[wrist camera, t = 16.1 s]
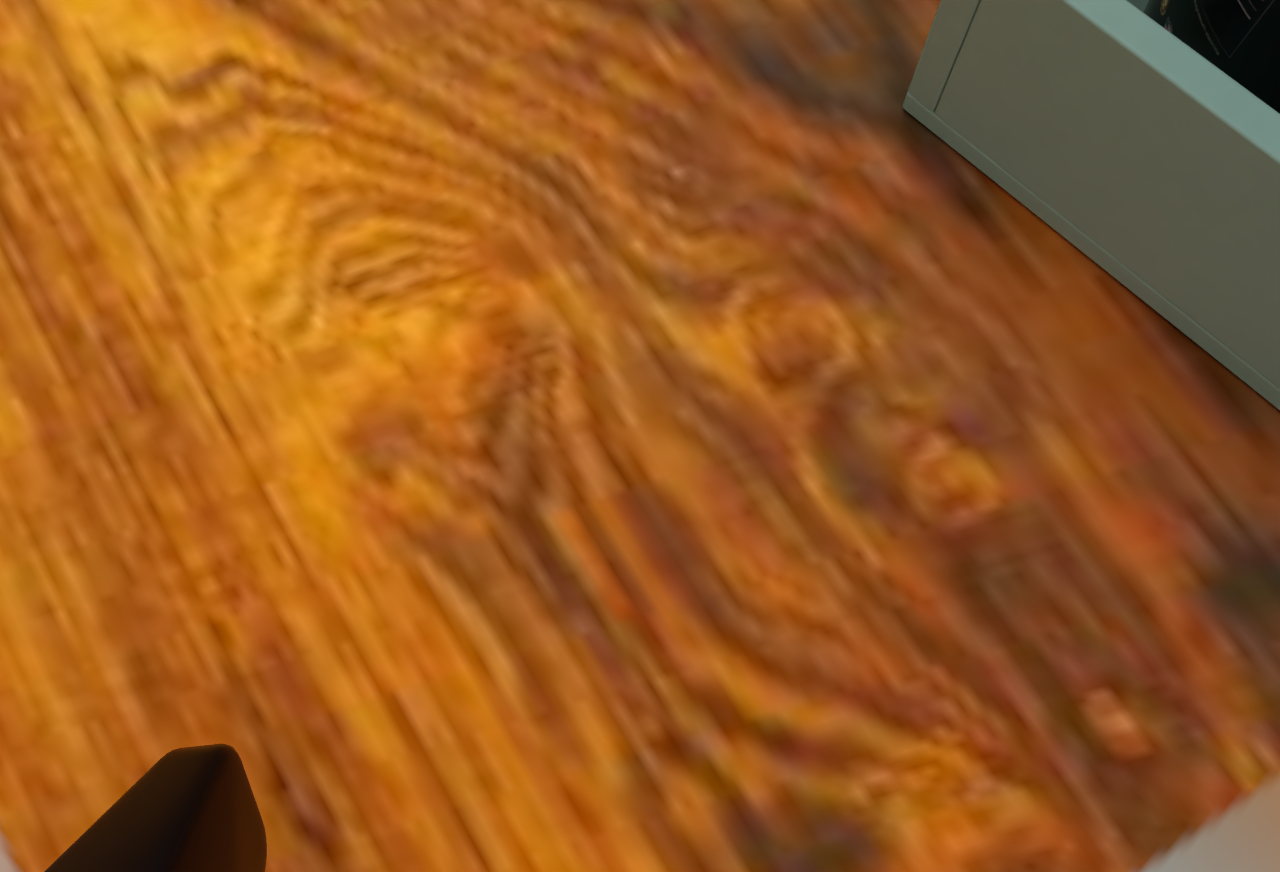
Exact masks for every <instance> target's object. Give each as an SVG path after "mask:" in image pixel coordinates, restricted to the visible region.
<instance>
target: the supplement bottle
mask: <svg viewBox="0 0 1280 872" xmlns="http://www.w3.org/2000/svg"><path fill="white" fill-rule="evenodd" d="M1143 13H1145V14H1146V15H1147V16H1149V17H1150V18H1151V19H1153V20H1154V21H1155V22H1157V23H1158V24H1159V25H1161V26H1162V27H1163V28H1165V29H1166V30H1167V31H1169V32H1170V33H1172V34H1173V35H1174V36H1176V37H1177V38H1178V39H1180V40H1181V41H1182V42H1184V43H1185V44H1186V45H1188V46H1189V47H1190V48H1192V49H1193V50H1194V51H1196V52H1197V53H1198V54H1200V55H1201V56H1203V57H1204V58H1205V59H1207V60H1208V61H1209V62H1211V63H1212V64H1213V65H1215V66H1216V67H1217V68H1219V69H1220V70H1221V71H1223V72H1224V73H1225V74H1227V75H1228V76H1229V77H1231V78H1232V79H1234V80H1235V81H1236V82H1238V83H1239V84H1240V85H1242V86H1243V87H1244V88H1246V89H1247V90H1248V91H1250V92H1251V93H1252V94H1254V95H1255V96H1256V97H1258V98H1259V99H1260V100H1262V101H1263V102H1265V103H1266V104H1267V105H1269V106H1270V107H1271V108H1273V109H1274V110H1275V111H1277V112H1278V113H1279V114H1280V0H1149V1H1148V3H1147V5H1146V8H1145V10H1144V12H1143Z"/></svg>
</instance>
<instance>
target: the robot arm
mask: <svg viewBox="0 0 1280 872" xmlns="http://www.w3.org/2000/svg"><path fill="white" fill-rule="evenodd" d="M266 857H267V843H266V834H265V828H264V824H263V821H262V818H261V815H260V812H259V810H258V807H257V804H256V801H255V798H254V795H253V793H252V790H251V787H250V784H249V781H248V778H247V775H246V773H245V770H244V767H243V764H242V761H241V759H240V757H239V755H238V753H237V752H236V751H235V749H234V748H233V747H231V746H229V745H226V744H214V745H205V746H195V747H186V748H179V749H176V750H172V751H171V752H169V753H167V754H166V755H165V756H163V757H162V758H161V759H160V760H159V761H158V762H157V763H156V764H155V765H154V766H153V767H152V768H151V769H150V770H149V771H148V772H147V773H146V774H145V775H144V776H142V777H141V778H140V779H139V780H138V781H137V782H136V783H135V784H134V785H133V786H132V787H131V788H130V789H129V790H128V791H127V792H126V793H125V794H124V795H123V796H122V797H121V798H120V799H119V800H118V801H117V802H116V803H115V804H114V805H113V806H112V807H111V808H110V809H109V810H107V811H106V812H105V813H104V814H103V815H102V816H101V817H100V818H99V819H98V820H97V821H96V822H95V823H94V824H93V825H92V826H91V827H90V828H89V829H88V830H87V831H86V832H85V833H84V834H83V835H82V836H81V837H80V838H79V839H78V840H77V841H76V842H75V843H73V844H72V845H71V846H70V847H69V848H68V849H67V850H66V851H65V852H64V853H63V854H62V855H61V856H60V857H59V858H58V859H57V860H56V861H55V862H54V863H53V864H52V865H51V866H50V867H49V868H48V869H47V870H46V871H45V872H265V867H266Z"/></svg>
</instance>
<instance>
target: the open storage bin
mask: <svg viewBox="0 0 1280 872" xmlns="http://www.w3.org/2000/svg"><path fill="white" fill-rule="evenodd" d="M1148 1H1149V0H941V1H940V4H939V7H938V9H937V12H936V15H935V18H934V21H933V23H932V26H931V29H930V32H929V34H928V37H927V40H926V43H925V45H924V48H923V51H922V54H921V56H920V59H919V62H918V65H917V67H916V70H915V73H914V76H913V79H912V81H911V84H910V87H909V90H908V93H907V95H906V98H905V101H904V104H903V108H904V109H905V110H906V111H907V112H908V113H910V114H911V115H912V116H913V117H915V118H916V119H917V120H918V121H919V122H921V123H922V124H923V125H924V126H926V127H927V128H928V129H929V130H931V131H932V132H933V133H934V134H936V135H937V136H938V137H939V138H941V139H942V140H943V141H944V142H946V143H947V144H948V145H949V146H951V147H952V148H953V149H954V150H956V151H957V152H958V153H959V154H961V155H962V156H963V157H964V158H966V159H967V160H968V161H969V162H971V163H972V164H973V165H974V166H976V167H977V168H978V169H979V170H981V171H982V172H983V173H984V174H986V175H987V176H988V177H989V178H991V179H992V180H993V181H994V182H996V183H997V184H998V185H999V186H1001V187H1002V188H1003V189H1004V190H1006V191H1007V192H1008V193H1009V194H1011V195H1012V196H1013V197H1014V198H1016V199H1017V200H1018V201H1019V202H1021V203H1022V204H1023V205H1024V206H1026V207H1027V208H1028V209H1029V210H1031V211H1032V212H1033V213H1034V214H1035V215H1037V216H1038V217H1039V218H1040V219H1042V220H1043V221H1044V222H1045V223H1047V224H1048V225H1049V226H1050V227H1052V228H1053V229H1054V230H1055V231H1057V232H1058V233H1059V234H1060V235H1062V236H1063V237H1064V238H1065V239H1067V240H1068V241H1069V242H1070V243H1072V244H1073V245H1074V246H1075V247H1077V248H1078V249H1079V250H1080V251H1082V252H1083V253H1084V254H1085V255H1087V256H1088V257H1089V258H1090V259H1092V260H1093V261H1094V262H1095V263H1097V264H1098V265H1099V266H1100V267H1102V268H1103V269H1104V270H1105V271H1107V272H1108V273H1109V274H1110V275H1112V276H1113V277H1114V278H1115V279H1117V280H1118V281H1119V282H1120V283H1122V284H1123V285H1124V286H1125V287H1127V288H1128V289H1129V290H1130V291H1132V292H1133V293H1134V294H1135V295H1137V296H1138V297H1139V298H1140V299H1142V300H1143V301H1144V302H1145V303H1146V304H1148V305H1149V306H1150V307H1151V308H1153V309H1154V310H1155V311H1156V312H1158V313H1159V314H1160V315H1161V316H1163V317H1164V318H1165V319H1166V320H1168V321H1169V322H1170V323H1171V324H1173V325H1174V326H1175V327H1176V328H1178V329H1179V330H1180V331H1181V332H1183V333H1184V334H1185V335H1186V336H1188V337H1189V338H1190V339H1191V340H1193V341H1194V342H1195V343H1196V344H1198V345H1199V346H1200V347H1201V348H1203V349H1204V350H1205V351H1206V352H1208V353H1209V354H1210V355H1211V356H1213V357H1214V358H1215V359H1216V360H1218V361H1219V362H1220V363H1221V364H1223V365H1224V366H1225V367H1226V368H1228V369H1229V370H1230V371H1231V372H1233V373H1234V374H1235V375H1236V376H1238V377H1239V378H1240V379H1241V380H1243V381H1244V382H1245V383H1246V384H1248V385H1249V386H1250V387H1251V388H1253V389H1254V390H1255V391H1256V392H1257V393H1259V394H1260V395H1261V396H1262V397H1264V398H1265V399H1266V400H1267V401H1269V402H1270V403H1271V404H1272V405H1274V406H1275V407H1276V408H1277V409H1279V410H1280V114H1279V113H1278V112H1277V111H1275V110H1274V109H1273V108H1271V107H1270V106H1269V105H1267V104H1266V103H1265V102H1263V101H1262V100H1260V99H1259V98H1258V97H1256V96H1255V95H1254V94H1252V93H1251V92H1250V91H1248V90H1247V89H1246V88H1244V87H1243V86H1242V85H1240V84H1239V83H1238V82H1236V81H1235V80H1234V79H1232V78H1231V77H1229V76H1228V75H1227V74H1225V73H1224V72H1223V71H1221V70H1220V69H1219V68H1217V67H1216V66H1215V65H1213V64H1212V63H1211V62H1209V61H1208V60H1207V59H1205V58H1204V57H1203V56H1201V55H1200V54H1198V53H1197V52H1196V51H1194V50H1193V49H1192V48H1190V47H1189V46H1188V45H1186V44H1185V43H1184V42H1182V41H1181V40H1180V39H1178V38H1177V37H1176V36H1174V35H1173V34H1172V33H1170V32H1169V31H1167V30H1166V29H1165V28H1163V27H1162V26H1161V25H1159V24H1158V23H1157V22H1155V21H1154V20H1153V19H1151V18H1150V17H1149V16H1147V15H1146V14H1145V13H1143V12H1144V10H1145V8H1146V5H1147V3H1148Z"/></svg>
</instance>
